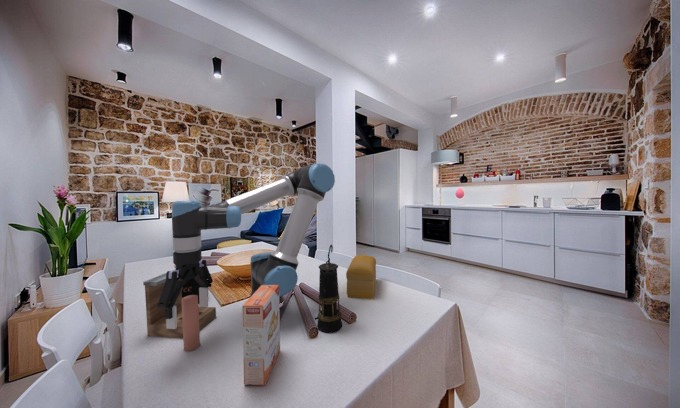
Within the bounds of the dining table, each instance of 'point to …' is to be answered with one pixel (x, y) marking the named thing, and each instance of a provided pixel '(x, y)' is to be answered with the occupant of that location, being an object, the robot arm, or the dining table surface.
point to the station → (157, 315)
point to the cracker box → (261, 334)
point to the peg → (190, 322)
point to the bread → (361, 277)
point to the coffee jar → (190, 288)
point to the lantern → (329, 298)
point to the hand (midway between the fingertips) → (189, 316)
